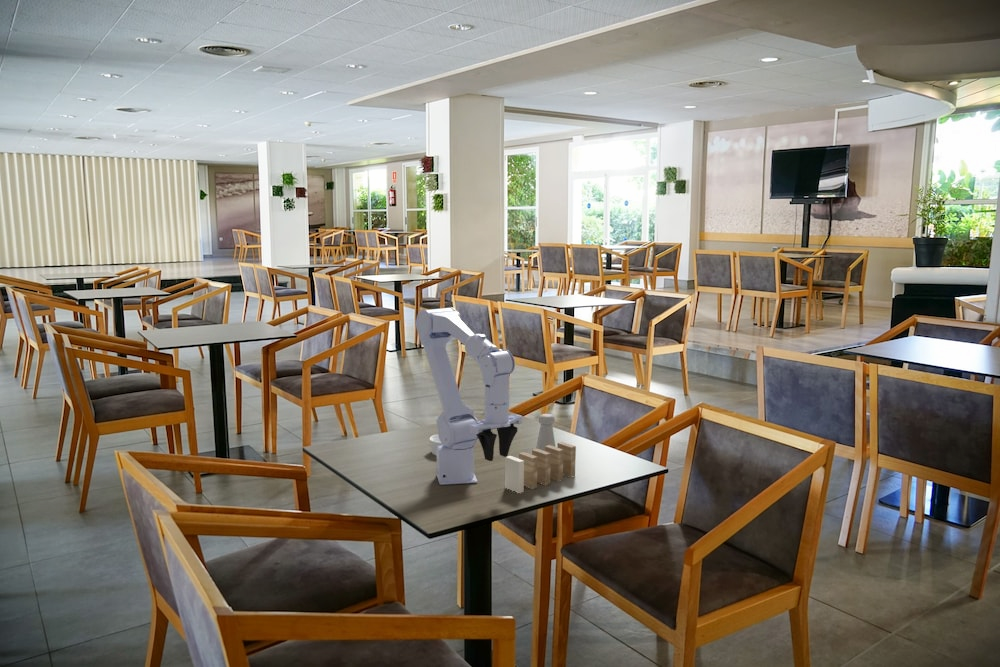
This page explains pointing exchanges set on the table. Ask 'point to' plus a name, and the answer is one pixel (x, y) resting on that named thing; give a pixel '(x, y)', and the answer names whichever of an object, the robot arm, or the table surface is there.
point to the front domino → (514, 474)
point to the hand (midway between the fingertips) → (496, 457)
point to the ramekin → (435, 443)
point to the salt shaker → (546, 431)
